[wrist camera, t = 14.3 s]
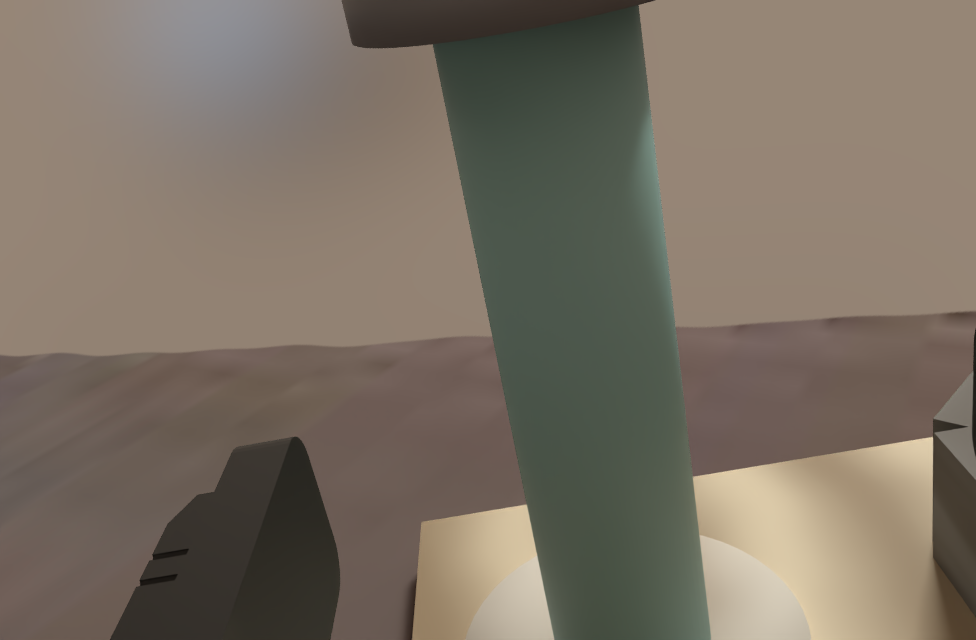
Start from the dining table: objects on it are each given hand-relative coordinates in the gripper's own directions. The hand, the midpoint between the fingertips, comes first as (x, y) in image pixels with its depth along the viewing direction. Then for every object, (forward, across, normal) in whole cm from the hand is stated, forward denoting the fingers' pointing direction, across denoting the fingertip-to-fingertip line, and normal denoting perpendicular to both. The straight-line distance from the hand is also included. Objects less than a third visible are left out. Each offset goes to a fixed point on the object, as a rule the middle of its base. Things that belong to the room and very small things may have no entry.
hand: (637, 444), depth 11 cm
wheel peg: (+9, 0, +12) cm, 15 cm away
